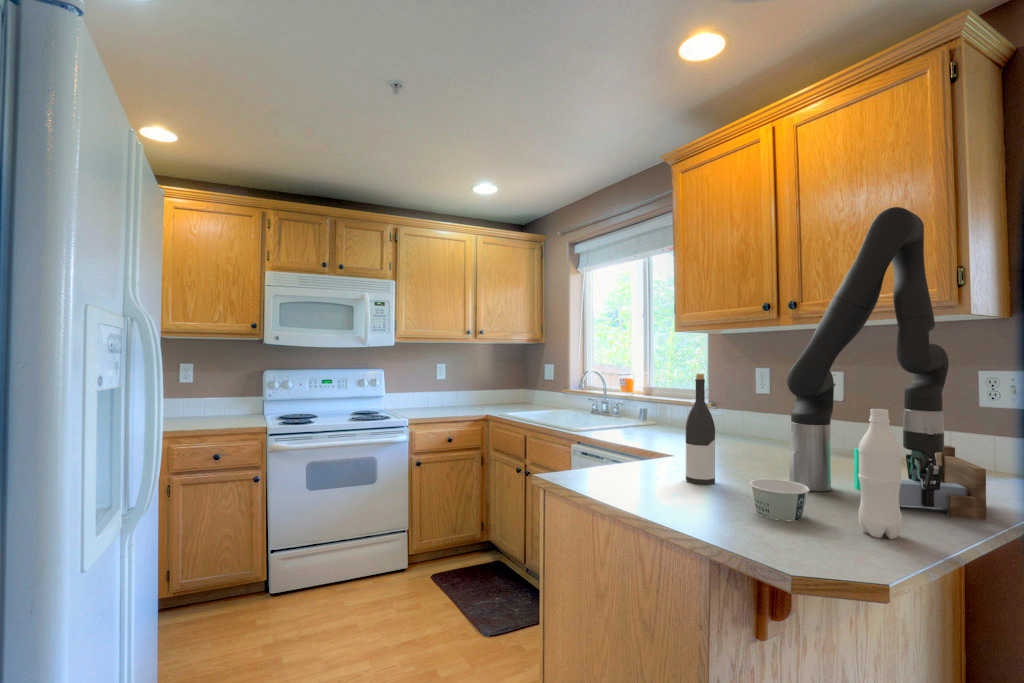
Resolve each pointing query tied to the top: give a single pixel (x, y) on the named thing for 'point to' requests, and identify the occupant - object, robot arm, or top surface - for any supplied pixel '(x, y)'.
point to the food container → (779, 498)
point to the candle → (856, 469)
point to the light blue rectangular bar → (912, 493)
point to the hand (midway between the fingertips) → (923, 503)
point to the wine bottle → (700, 440)
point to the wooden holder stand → (966, 477)
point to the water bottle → (880, 478)
